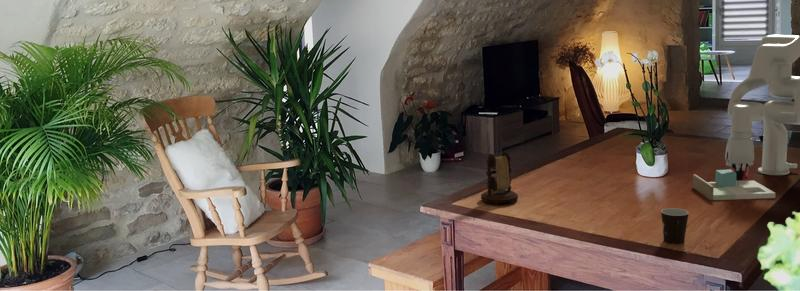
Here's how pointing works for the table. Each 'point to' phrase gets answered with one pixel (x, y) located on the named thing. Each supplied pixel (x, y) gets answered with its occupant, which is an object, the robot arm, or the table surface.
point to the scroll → (499, 180)
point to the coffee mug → (674, 225)
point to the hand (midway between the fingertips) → (738, 179)
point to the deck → (731, 190)
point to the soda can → (744, 173)
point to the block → (725, 178)
